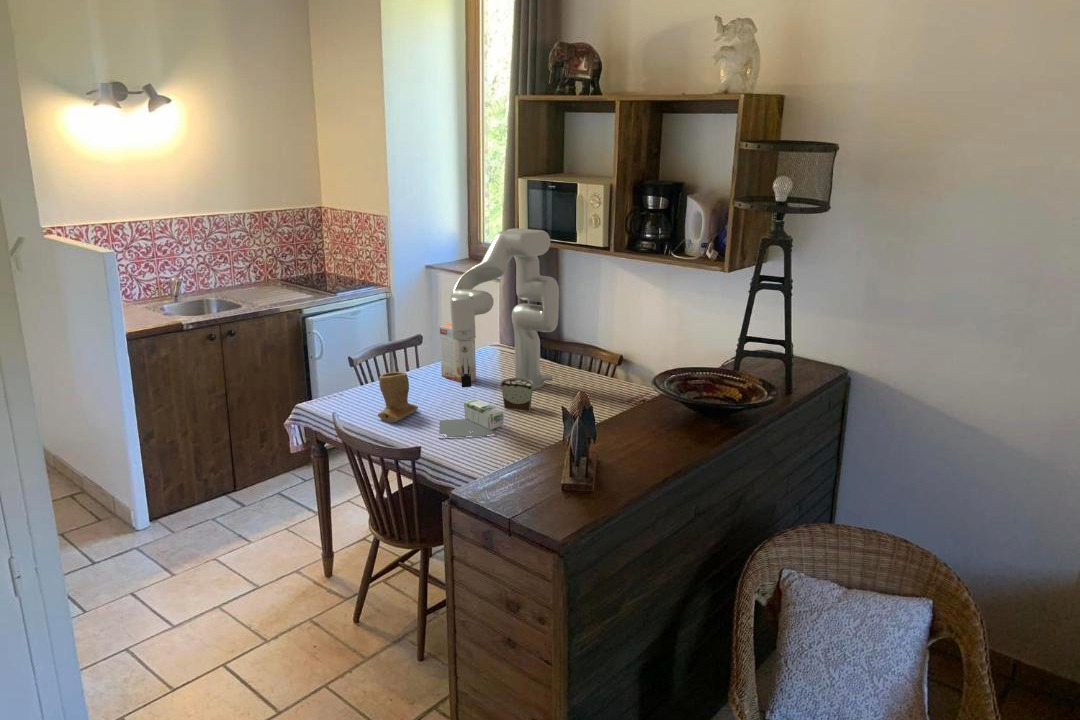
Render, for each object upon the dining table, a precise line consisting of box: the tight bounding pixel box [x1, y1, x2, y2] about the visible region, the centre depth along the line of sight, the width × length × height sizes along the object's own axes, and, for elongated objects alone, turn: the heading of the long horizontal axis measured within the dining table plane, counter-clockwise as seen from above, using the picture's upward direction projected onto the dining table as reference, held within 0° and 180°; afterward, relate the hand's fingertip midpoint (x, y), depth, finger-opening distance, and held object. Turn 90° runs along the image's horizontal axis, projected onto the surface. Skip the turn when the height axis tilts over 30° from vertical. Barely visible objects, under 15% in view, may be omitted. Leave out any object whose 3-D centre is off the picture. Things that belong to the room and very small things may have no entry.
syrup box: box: [463, 398, 505, 430], centre depth 263 cm, size 6×6×14 cm
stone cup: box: [377, 371, 419, 423], centre depth 269 cm, size 15×12×15 cm
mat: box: [438, 418, 497, 437], centre depth 260 cm, size 18×15×1 cm
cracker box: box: [439, 323, 477, 383], centre depth 306 cm, size 14×6×21 cm, turn 48°
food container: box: [499, 377, 534, 412], centre depth 277 cm, size 12×6×10 cm, turn 71°
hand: (466, 386), depth 262 cm, fingers closed
